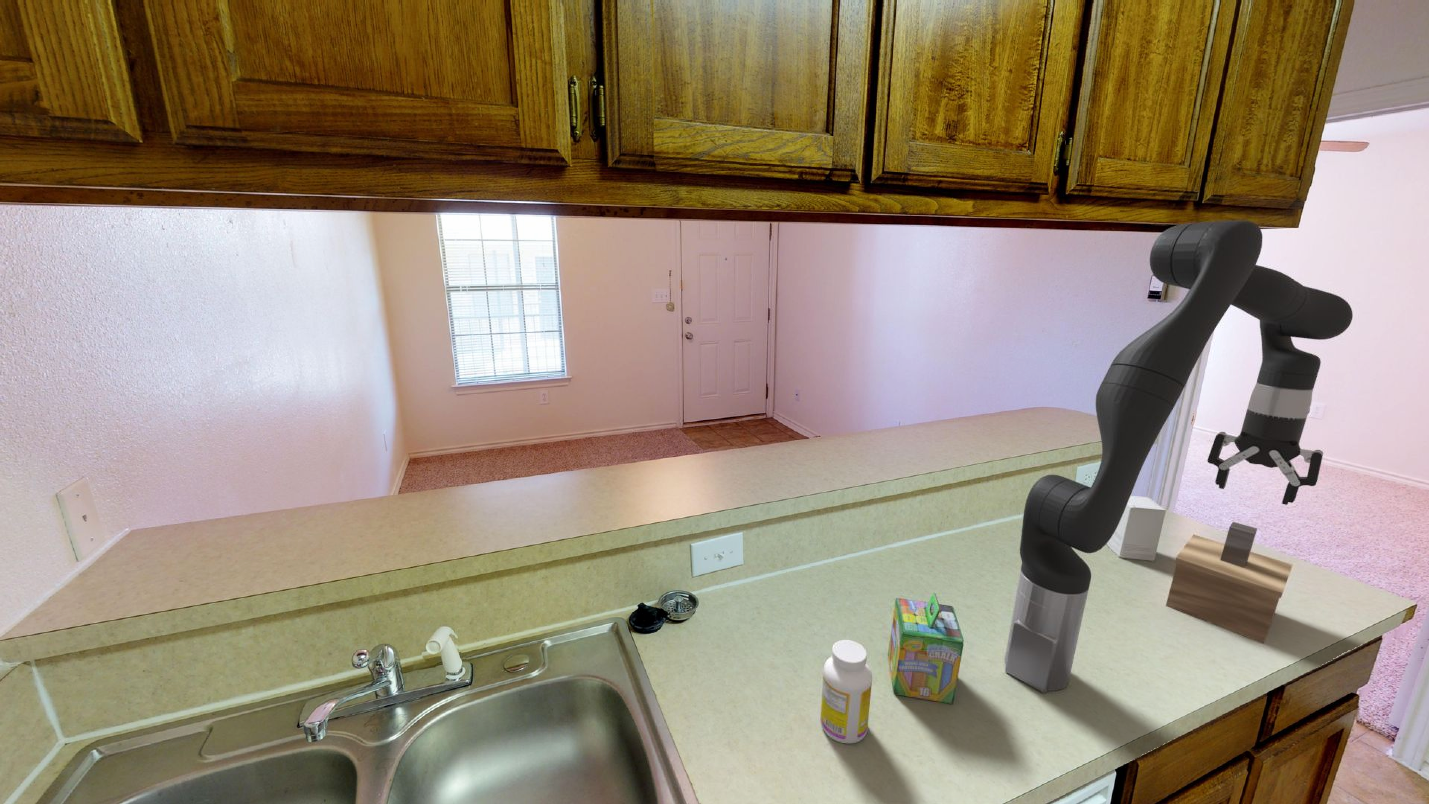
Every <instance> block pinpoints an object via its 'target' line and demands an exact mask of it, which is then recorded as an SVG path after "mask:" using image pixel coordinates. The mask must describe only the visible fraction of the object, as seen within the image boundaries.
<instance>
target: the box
mask: <svg viewBox="0 0 1429 804" xmlns="http://www.w3.org/2000/svg"><path fill="white" fill-rule="evenodd" d="M1172 576H1173V577H1172V580H1171V583H1170V588H1169V593H1168V595H1167V600H1166V602H1165V606H1166V607H1169V608H1172V609H1174V610H1177V611H1180V612H1181V613H1184V614H1187V615H1189V616H1192V617H1195V618H1198V619H1199V620H1202V621H1205V622H1208V623H1209V624H1212V625H1216V626H1218V627H1220V628H1222V629H1226V630H1228V631H1231V632H1233V633H1235V634H1238V635H1241V636H1243V637H1247V638H1248V639H1251V640H1254V641H1256V642H1260V643H1262V644H1265V641H1266V638H1267V636H1268V634H1269V633H1268V632H1269V630H1270V628H1271V624H1272V622H1273V619H1274V616H1275V613H1276V610H1277V608H1278V604H1279V601H1280V598H1279V597H1276V596H1273V595H1270V594H1267V593H1264V592H1261V591H1258V590H1255V589H1252V588H1249V587H1246V586H1243V585H1240V584H1237V583H1234V582H1232V581H1229V580H1226V579H1223V578H1220V577H1217V576H1214V575H1211V574H1208V573H1205V572H1202V571H1199V570H1196V569H1193V568H1190V567H1187V566H1184V565H1181V564H1178V563H1175V569H1174V572H1173V575H1172Z"/></svg>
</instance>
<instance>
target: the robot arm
mask: <svg viewBox="0 0 1429 804" xmlns="http://www.w3.org/2000/svg"><path fill="white" fill-rule="evenodd" d="M1262 232H1263V231H1262V230H1261V228H1260V227H1259V225H1258V224H1256V223H1255V222H1254V221H1252V220H1251V221H1250V220H1245V219H1243V220H1238V219H1235V220H1234V219H1232V220H1218V221H1217V220H1214V221H1202V222H1201V221H1200V222H1190V223H1183V224H1182V223H1181V224H1178V225H1174V226H1171V227H1169V228H1167V229H1165V230H1164V231H1162V232H1161V234H1159V235H1158V237H1157V238H1156V239H1155V241H1154V243H1153V245H1152V247H1151V249H1150V255H1149V267H1150V270H1151V273H1152V274H1153V276H1154V277H1155V279H1156V280H1158V281H1159V282H1161V283H1163V284H1164V285H1165V284H1166V285H1168V286H1169V285H1170V286H1172V287H1173V286H1175V287H1178V288H1183V289H1187V290H1188V292H1187V293H1186V295H1185V297H1183V299H1182V301H1181V302H1179V305H1177V306H1176V308H1174V310H1172V312H1171V313H1169V314H1168V315H1167V316H1165V318H1163V319H1162V320H1160V321H1158V322H1157V323H1156V324H1155V325H1154V326H1152V327H1150V328H1149V329H1148V330H1146V331H1145V332H1144V333H1142V334H1140V335H1139V336H1137V337H1136V338H1135V339H1134V340H1133V341H1131V342H1129V343H1128V344H1127V345H1126V346H1125V347H1123V349H1121V350H1120V351H1119V352H1118V353H1117V355H1116V356H1115V357H1114V358H1113V360H1112V362H1111V364H1110V365H1109V368H1108V369H1107V371H1106V373H1105V375H1104V378H1103V380H1102V381H1101V383H1100V385H1099V387H1098V389H1097V393H1096V396H1095V410H1096V411H1095V412H1096V420H1097V423H1098V429H1099V434H1100V439H1101V441H1100V442H1101V449H1102V450H1101V451H1102V452H1101V461H1100V465H1099V468H1098V471H1097V474H1096V476H1095V478H1094V479H1093V482H1092V485H1091V486H1088V485H1086V484H1083V483H1080V482H1077V481H1075V480H1072V479H1071V478H1067V477H1064V476H1062V475H1058V474H1046V475H1044V476H1042V477H1040V478H1039V479H1038V480H1036V482H1034V484H1033V485H1032V487H1031V489H1030V491H1029V493H1028V494H1027V495H1028V496H1027V498H1026V500H1025V503H1024V504H1025V505H1024V508H1023V515H1022V526H1021V536H1020V543H1019V544H1020V545H1019V556H1020V559H1021V560H1020V561H1021V567H1020V573H1019V579H1018V583H1017V589H1016V594H1015V599H1014V600H1015V601H1014V604H1013V605H1014V606H1013V610H1012V616H1011V621H1010V622H1011V623H1010V626H1009V627H1010V628H1009V633H1008V639H1007V644H1006V651H1005V655H1004V663H1005V668H1004V672H1006V673H1008V674H1009V675H1010V676H1012V677H1014V678H1016V679H1018V680H1020V681H1022V682H1024V683H1026V684H1027V685H1029V686H1030V687H1032V688H1034V689H1036V690H1038V691H1039V692H1041V693H1044V694H1046V693H1047V692H1048V691H1058V690H1062V689H1064V688H1066V687H1067V686H1068V685H1069V682H1070V678H1071V673H1072V669H1073V664H1074V659H1075V653H1076V650H1077V645H1078V641H1079V636H1080V631H1081V626H1082V622H1083V617H1084V613H1085V607H1086V603H1087V599H1088V594H1089V589H1090V586H1091V580H1092V571H1091V568H1090V566H1089V565H1088V563H1087V562H1086V561H1084V559H1083V558H1082V557H1081V556H1080V555H1078V554H1079V553H1077V552H1076V551H1075V550H1077V551H1078V552H1082V553H1084V554H1093V553H1097V552H1098V551H1100V550H1102V548H1103V547H1105V546H1106V545H1107V543H1108V541H1109V540H1110V539H1111V537H1112V535H1113V534H1114V532H1115V530H1116V529H1117V526H1118V524H1119V522H1120V520H1121V518H1122V515H1123V513H1124V511H1125V508H1126V506H1127V503H1128V501H1129V498H1130V496H1132V493H1133V490H1134V487H1135V486H1136V482H1137V481H1138V478H1139V475H1140V472H1141V471H1142V468H1143V466H1144V464H1145V461H1146V459H1147V458H1148V455H1150V454H1149V453H1150V452H1151V450H1152V448H1153V446H1154V445H1155V442H1156V440H1157V439H1158V437H1159V434H1160V432H1161V431H1162V429H1163V427H1164V426H1165V424H1166V421H1167V420H1168V418H1169V416H1170V415H1171V413H1172V412H1173V410H1174V408H1175V406H1176V404H1177V402H1178V401H1179V399H1180V397H1181V395H1182V393H1183V391H1184V389H1185V386H1186V385H1187V382H1188V380H1189V378H1190V376H1191V374H1192V373H1193V370H1194V368H1195V366H1196V365H1197V362H1198V361H1199V358H1200V357H1201V354H1202V353H1203V351H1204V349H1205V347H1206V345H1207V343H1208V342H1209V340H1210V339H1211V336H1212V335H1213V333H1214V331H1215V330H1216V328H1217V326H1218V325H1219V323H1220V322H1221V320H1222V319H1223V317H1224V316H1225V314H1226V312H1227V311H1228V309H1230V307H1231V306H1232V307H1235V308H1237V309H1239V310H1241V311H1243V312H1245V313H1246V314H1248V315H1250V316H1251V317H1254V318H1255V319H1257V320H1259V329H1260V330H1259V331H1260V337H1261V339H1260V340H1261V355H1262V356H1261V357H1262V358H1261V360H1262V361H1261V365H1260V368H1259V372H1258V375H1257V379H1256V383H1255V386H1254V387H1253V389H1252V392H1251V394H1250V396H1249V401H1248V405H1247V409H1246V411H1245V416H1244V419H1243V422H1242V425H1241V426H1242V427H1241V429H1240V430H1241V431H1240V433H1239V435H1238V436H1236V435H1235V436H1234V435H1230V434H1227V432H1225V431H1219V432H1218V433H1217V434H1215V438H1214V440H1213V442H1212V443H1213V444H1212V446H1211V449H1210V452H1209V455H1208V457H1207V461H1206V462H1207V463H1208V464H1210V465H1213V466H1216V467H1217V473H1216V478H1215V483H1214V484H1215V485H1217V486H1218V489H1222V490H1224V489H1225V487H1226V486H1227V482H1228V478H1229V474H1230V471H1231V467H1233V466H1235V465H1237V464H1239V463H1241V462H1243V461H1246V462H1247V463H1249V464H1252V465H1260V466H1264V467H1266V468H1271V469H1273V468H1278V469H1279V471H1280V472H1281V473H1282V475H1284V476H1285V478H1286V479H1287V481H1288V482H1287V485H1286V488H1285V492H1284V494H1283V498H1282V502H1281V505H1285V506H1288V504H1289V503H1291V504H1293V503H1294V502H1295V501H1296V498H1297V496H1298V491H1299V488H1300V487H1302V486H1309V487H1314V486H1316V485H1317V482H1318V479H1319V474H1320V471H1321V465H1322V463H1323V462H1322V461H1323V456H1324V452H1323V450H1321V449H1315V450H1313V449H1312V450H1311V449H1305V448H1301V446H1300V442H1301V438H1302V434H1303V431H1304V429H1305V426H1306V425H1305V424H1306V422H1307V418H1308V415H1309V414H1310V410H1311V406H1312V405H1311V404H1312V401H1313V400H1312V399H1313V391H1314V387H1315V385H1316V381H1317V378H1318V375H1319V372H1320V368H1321V362H1322V360H1321V358H1320V357H1319V356H1318V355H1316V354H1314V353H1310V352H1307V351H1304V350H1301V349H1299V348H1297V347H1296V346H1295V345H1294V343H1293V340H1292V338H1300V339H1306V340H1307V339H1308V340H1319V341H1320V340H1321V341H1322V340H1325V341H1326V340H1330V339H1334V338H1335V337H1338V336H1340V335H1341V334H1343V333H1344V332H1346V330H1347V329H1348V328H1349V327H1350V325H1351V323H1352V321H1353V316H1354V315H1353V309H1352V307H1351V305H1350V303H1349V302H1348V301H1346V299H1344V298H1343V297H1341V296H1339V295H1337V294H1335V293H1331V292H1328V291H1324V290H1322V289H1318V288H1312V287H1309V286H1305V285H1303V284H1302V283H1300V282H1299V281H1297V280H1295V279H1294V278H1292V277H1291V276H1289V275H1288V274H1286V273H1283V272H1281V271H1279V270H1277V269H1274V268H1269V267H1267V266H1262V265H1258V264H1257V262H1258V260H1259V257H1260V255H1261V252H1262V248H1263V233H1262ZM1230 443H1234V445H1235V447H1236V448H1237V450H1238V452H1236V453H1235V454H1233V455H1231V456H1230V457H1227V458H1226V459H1225V460H1224V459H1222V458H1221V457H1220V455H1221V452H1222V450H1223V447H1226V446H1229V445H1230ZM1299 456H1301V457H1302V458H1303V461H1304V462H1305V463H1307V464H1309V466H1308V471H1307V476H1300V475H1299V473H1298V472H1297V470H1296V468H1295V466H1294V465H1293V463H1292V460H1294V459H1295V458H1297V457H1299Z"/></svg>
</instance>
